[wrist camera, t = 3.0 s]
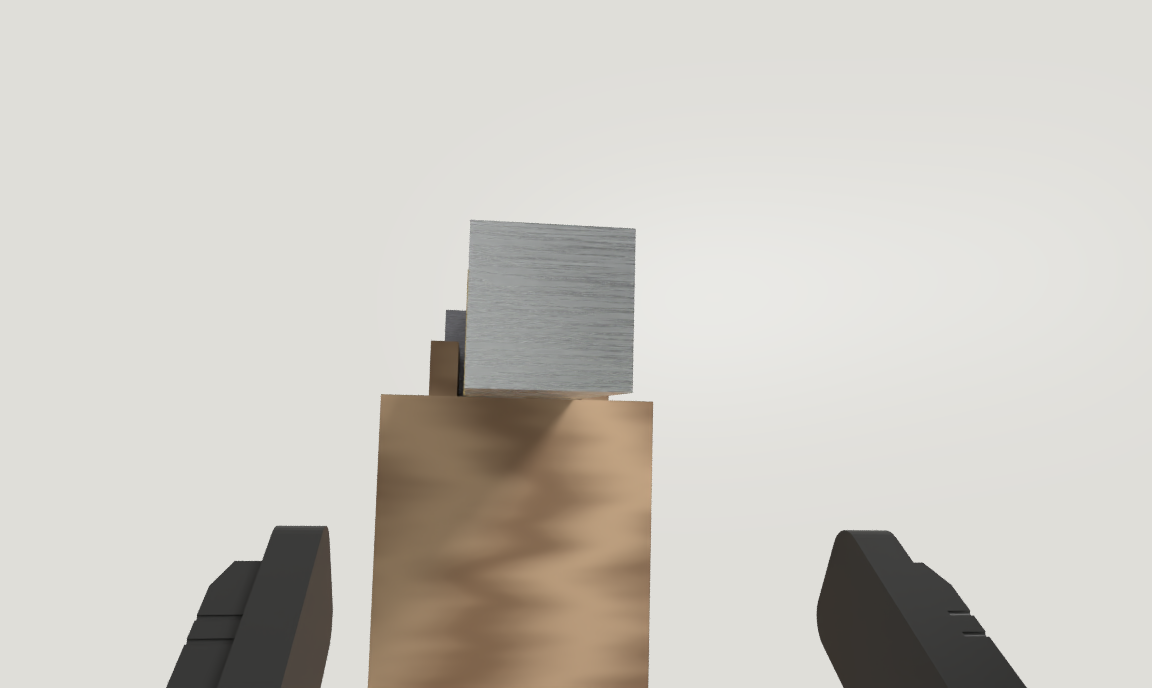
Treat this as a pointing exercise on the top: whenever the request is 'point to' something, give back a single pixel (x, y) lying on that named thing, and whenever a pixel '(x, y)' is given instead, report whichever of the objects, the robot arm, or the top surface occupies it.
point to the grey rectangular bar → (546, 312)
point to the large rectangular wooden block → (510, 540)
